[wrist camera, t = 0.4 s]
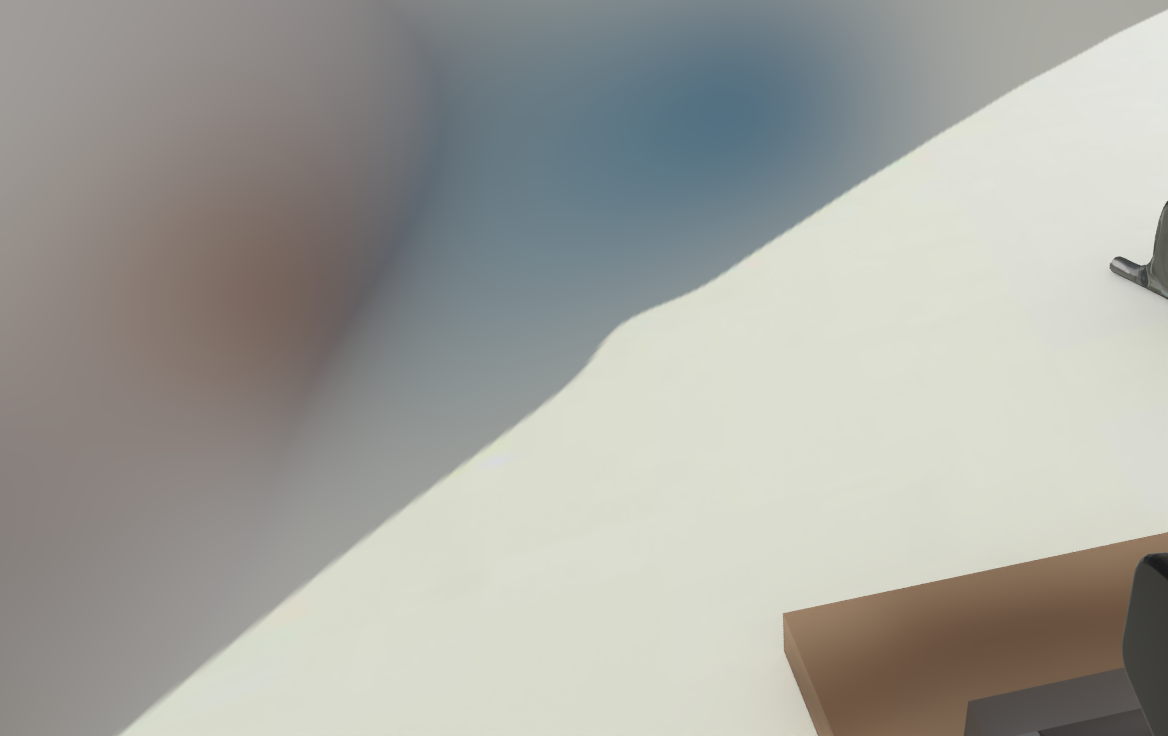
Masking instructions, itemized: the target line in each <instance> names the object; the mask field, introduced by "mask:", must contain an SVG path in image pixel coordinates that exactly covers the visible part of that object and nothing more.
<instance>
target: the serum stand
mask: <svg viewBox="0 0 1168 736" xmlns="http://www.w3.org/2000/svg"><path fill="white" fill-rule="evenodd" d="M1161 552H1168V532H1167V533H1163V534H1158V535H1153V536H1148V537H1144V538H1139V539H1134V540H1129V541H1125V542H1120V543H1115V544H1110V545H1106V546H1101V547H1096V548H1091V549H1087V550H1082V551H1077V552H1072V553H1068V554H1063V555H1058V556H1053V557H1049V558H1044V559H1039V560H1034V561H1030V562H1025V563H1020V564H1016V565H1011V566H1006V567H1001V568H997V569H992V570H987V571H982V572H978V573H973V574H968V575H963V576H959V577H954V578H949V579H944V580H940V581H935V582H930V583H925V584H921V585H916V586H911V587H906V588H902V589H897V590H892V591H887V592H883V593H878V594H873V595H869V596H864V597H859V598H854V599H850V600H845V601H840V602H835V603H831V604H826V605H821V606H816V607H812V608H807V609H802V610H797V611H793V612H788V613H783V629H784V652H785V654H786V657H787V659H788V662H789V664H790V667H791V669H792V672H793V674H794V677H795V679H796V682H797V684H798V687H799V689H800V692H801V694H802V697H803V699H804V702H805V704H806V707H807V709H808V712H809V714H810V717H811V719H812V722H813V724H814V727H815V729H816V732H817V734H818V736H1153V735H1152V732H1151V730H1150V728H1149V725H1148V723H1147V721H1146V719H1145V716H1144V714H1143V712H1142V709H1141V707H1140V705H1139V702H1138V700H1137V698H1136V696H1135V693H1134V691H1133V689H1132V686H1131V684H1130V682H1129V680H1128V677H1127V674H1126V672H1125V668H1124V664H1123V659H1122V648H1121V644H1122V636H1123V630H1124V625H1125V619H1126V614H1127V608H1128V602H1129V597H1130V591H1131V586H1132V580H1133V575H1134V571H1135V568H1136V565H1137V564H1138V562H1139V560H1140V559H1141V558H1142V557H1144V556H1146V555H1147V554H1150V553H1161Z"/></svg>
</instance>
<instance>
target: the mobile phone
mask: <svg viewBox="0 0 1168 736" xmlns="http://www.w3.org/2000/svg"><path fill="white" fill-rule="evenodd" d="M1110 269H1111V271H1113V272H1115V273H1117V274H1119V275H1121V276H1123V277H1125V278H1127V279H1129V280H1131V281H1133V282H1135V283H1137V284H1139V285H1141V286H1143V287H1145V288H1147V289H1149V290H1151V291H1153V292H1155V293H1157V294H1159V295H1161V296H1163V297H1165V298H1167V299H1168V201H1167V203H1166V204H1165V206H1164V208H1163V210H1162V213H1161V216H1160V219H1159V223H1158V227H1157V231H1156V236H1155V243H1154V252H1153V257H1152V259H1151V261H1150V263H1149V264H1147V265H1142V266H1140V265H1138V264H1135V263H1133V262H1131V261H1129V260H1127V259H1125V258H1123V257H1115V258H1114V259H1113V261H1112V262H1111V263H1110Z"/></svg>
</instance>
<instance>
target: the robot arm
mask: <svg viewBox="0 0 1168 736" xmlns="http://www.w3.org/2000/svg"><path fill="white" fill-rule="evenodd" d="M1121 648H1122V659H1123V664H1124V668H1125V672H1126V674H1127V677H1128V680H1129V682H1130V684H1131V686H1132V689H1133V691H1134V693H1135V696H1136V698H1137V700H1138V702H1139V705H1140V707H1141V709H1142V712H1143V714H1144V716H1145V719H1146V721H1147V723H1148V725H1149V728H1150V730H1151V732H1152V735H1153V736H1168V552H1161V553H1150V554H1147V555H1146V556H1144V557H1142V558H1141V559H1140V560H1139V562H1138V564H1137V565H1136V568H1135V571H1134V575H1133V580H1132V586H1131V591H1130V597H1129V602H1128V608H1127V614H1126V619H1125V625H1124V630H1123V636H1122V644H1121Z"/></svg>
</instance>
